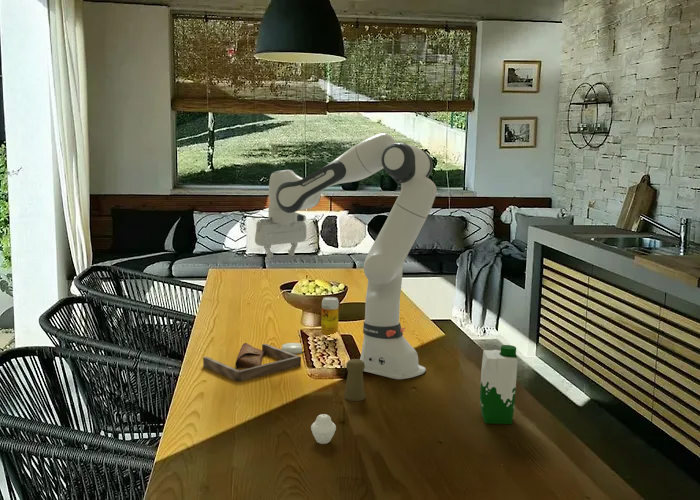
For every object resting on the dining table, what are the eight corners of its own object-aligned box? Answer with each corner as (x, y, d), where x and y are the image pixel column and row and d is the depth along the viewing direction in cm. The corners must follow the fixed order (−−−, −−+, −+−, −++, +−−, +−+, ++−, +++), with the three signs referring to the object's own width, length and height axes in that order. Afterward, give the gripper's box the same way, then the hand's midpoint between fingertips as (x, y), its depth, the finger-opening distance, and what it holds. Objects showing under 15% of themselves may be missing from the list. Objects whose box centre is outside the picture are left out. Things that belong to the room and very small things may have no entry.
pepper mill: (350, 402, 211) (351, 364, 209) (340, 395, 216) (341, 358, 214) (369, 399, 213) (370, 361, 212) (359, 392, 219) (360, 355, 217)
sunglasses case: (262, 368, 238) (251, 350, 236) (243, 379, 238) (232, 361, 237) (266, 351, 255) (256, 335, 254) (248, 361, 256) (238, 345, 254)
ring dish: (309, 350, 258) (310, 346, 257) (291, 355, 252) (291, 350, 252) (295, 345, 263) (295, 341, 263) (277, 349, 258) (277, 345, 258)
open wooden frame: (300, 365, 241) (300, 356, 241) (238, 381, 225) (238, 372, 224) (264, 352, 255) (265, 343, 254) (203, 366, 238) (203, 357, 238)
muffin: (315, 448, 180) (316, 420, 179) (307, 438, 186) (307, 411, 185) (339, 444, 183) (340, 417, 181) (330, 434, 188) (330, 408, 187)
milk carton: (516, 425, 197) (520, 352, 194) (481, 424, 197) (485, 351, 194) (510, 413, 205) (514, 342, 202) (476, 412, 206) (480, 341, 202)
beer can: (318, 339, 271) (319, 299, 269) (325, 335, 277) (326, 295, 274) (333, 341, 269) (334, 301, 267) (340, 337, 275) (341, 297, 272)
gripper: (262, 219, 250) (262, 260, 252) (309, 216, 264) (308, 254, 266) (251, 217, 254) (251, 258, 256) (298, 214, 268) (297, 252, 270)
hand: (280, 256), depth 261 cm, fingers open, 8 cm apart
